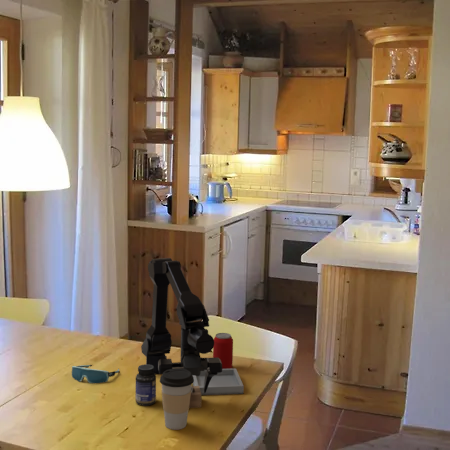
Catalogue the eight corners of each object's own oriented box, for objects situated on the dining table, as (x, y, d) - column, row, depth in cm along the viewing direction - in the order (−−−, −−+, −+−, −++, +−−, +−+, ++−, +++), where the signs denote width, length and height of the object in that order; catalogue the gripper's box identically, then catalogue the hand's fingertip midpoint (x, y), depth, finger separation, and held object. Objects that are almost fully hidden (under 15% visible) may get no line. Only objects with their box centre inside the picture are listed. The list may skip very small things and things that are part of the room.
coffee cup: (159, 417, 184) (160, 367, 182) (192, 417, 185) (193, 367, 183) (158, 433, 175) (159, 380, 172) (193, 432, 175) (194, 380, 173)
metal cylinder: (186, 404, 193) (186, 388, 192) (185, 401, 195) (186, 386, 194) (193, 404, 193) (193, 388, 193) (192, 401, 195) (192, 385, 195)
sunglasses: (64, 380, 209) (65, 365, 209) (87, 371, 223) (87, 356, 223) (103, 386, 205) (104, 371, 205) (124, 376, 219) (125, 361, 219)
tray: (195, 395, 200) (195, 387, 200) (191, 376, 215) (191, 369, 214) (243, 393, 202) (243, 386, 202) (235, 375, 217) (235, 368, 216)
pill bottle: (156, 405, 192) (156, 370, 190) (135, 406, 191) (135, 371, 189) (155, 397, 198) (155, 362, 196) (135, 398, 197) (135, 363, 195)
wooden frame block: (179, 408, 191) (179, 395, 190) (177, 397, 198) (177, 385, 197) (201, 407, 191) (201, 394, 191) (198, 396, 199) (198, 384, 198)
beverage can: (233, 365, 226) (234, 332, 224) (231, 373, 219) (232, 339, 217) (213, 364, 226) (214, 331, 224) (211, 371, 220) (212, 337, 218)
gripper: (160, 353, 182) (159, 405, 184) (225, 351, 185) (224, 403, 187) (158, 340, 193) (157, 389, 195) (220, 338, 196) (218, 387, 198)
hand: (189, 392), depth 194 cm, fingers open, 9 cm apart
